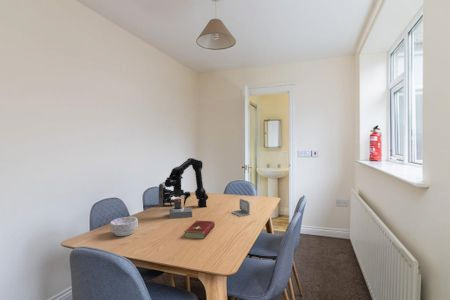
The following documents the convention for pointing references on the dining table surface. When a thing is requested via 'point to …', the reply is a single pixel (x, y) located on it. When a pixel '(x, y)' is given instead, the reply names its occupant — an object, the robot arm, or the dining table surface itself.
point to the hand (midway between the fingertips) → (177, 206)
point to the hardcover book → (199, 229)
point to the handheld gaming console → (243, 208)
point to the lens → (177, 203)
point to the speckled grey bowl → (123, 226)
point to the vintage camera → (161, 194)
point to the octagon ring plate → (180, 212)
